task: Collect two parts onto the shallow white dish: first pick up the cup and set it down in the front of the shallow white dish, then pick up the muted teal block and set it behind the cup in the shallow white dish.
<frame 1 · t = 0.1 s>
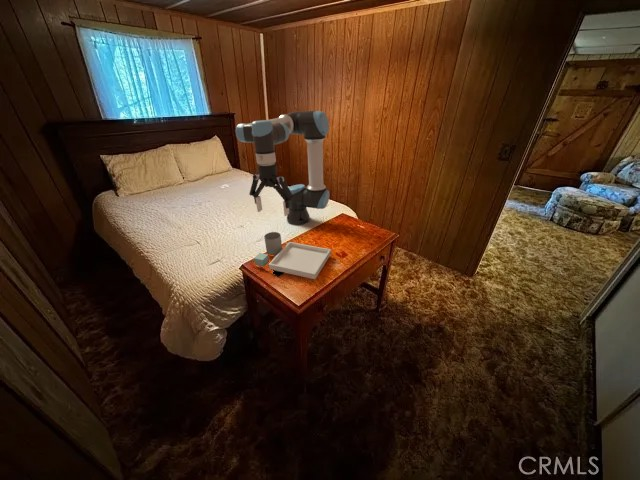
hand: (273, 212, 111), 28 cm above the table, fingers open, 13 cm apart
shallow white dish: (301, 263, 125), on the table
smartphone: (273, 268, 123), on the table
block: (262, 264, 126), on the table
cup: (274, 252, 135), on the table
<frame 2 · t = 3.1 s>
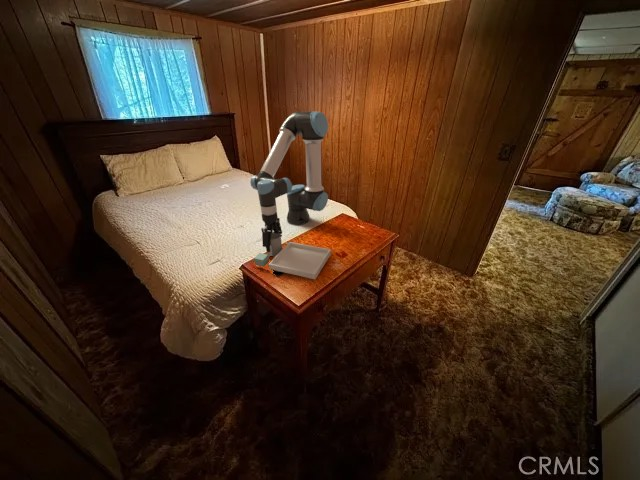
hand: (274, 251, 135), 0 cm above the table, fingers closed on cup, 8 cm apart
cup: (274, 252, 135), on the table, touching gripper
everything else where it was.
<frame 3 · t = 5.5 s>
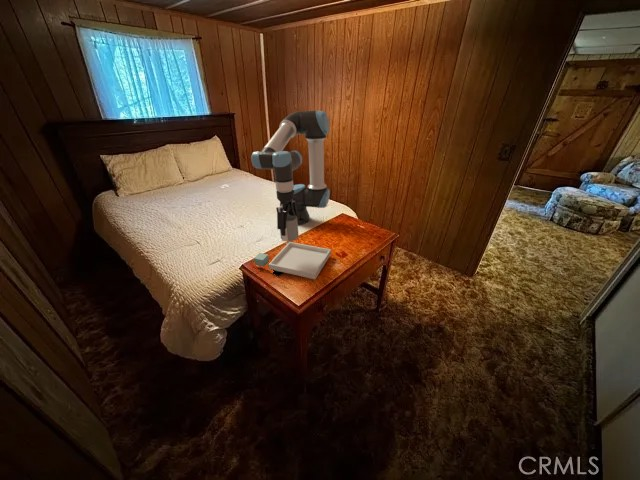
hand: (289, 236, 119), 15 cm above the table, fingers closed on cup, 8 cm apart
cup: (289, 237, 120), point 14 cm above the table, touching gripper
everything else where it was.
when the fingers open (3 cm above the table, at t = 8.4 s): cup stays where it is, resting on shallow white dish.
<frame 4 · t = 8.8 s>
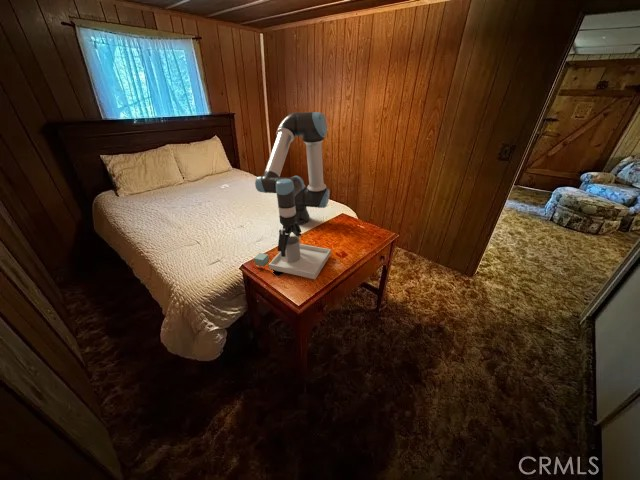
hand: (291, 254, 125), 5 cm above the table, fingers open, 13 cm apart
cup: (292, 258, 126), point 2 cm above the table, touching shallow white dish
everything else where it was.
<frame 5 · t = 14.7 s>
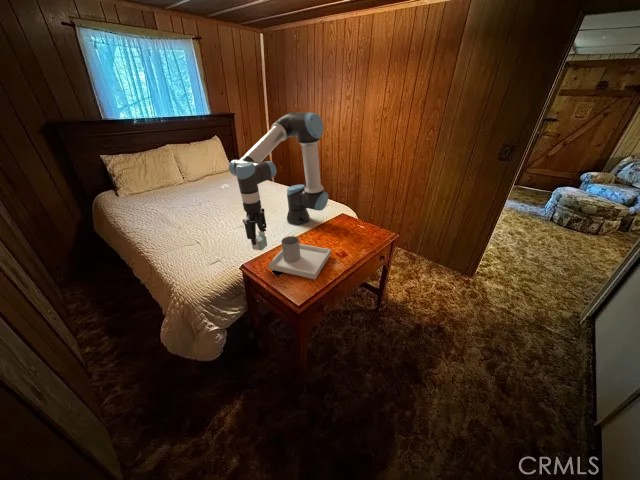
hand: (260, 246, 121), 10 cm above the table, fingers closed on block, 5 cm apart
block: (260, 247, 121), point 10 cm above the table, touching gripper
everything else where it was.
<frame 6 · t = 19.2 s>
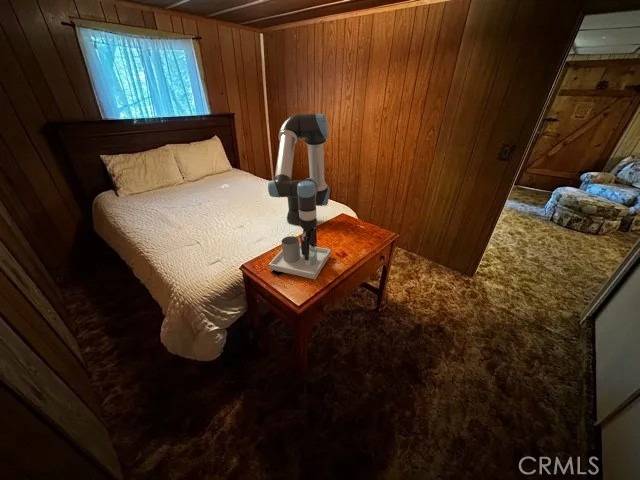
hand: (310, 261, 122), 3 cm above the table, fingers closed on block, 5 cm apart
block: (310, 261, 122), point 2 cm above the table, touching shallow white dish, gripper
everything else where it was.
when the fingers open (3 cm above the table, at t = 19.3 s): block stays where it is, resting on shallow white dish.
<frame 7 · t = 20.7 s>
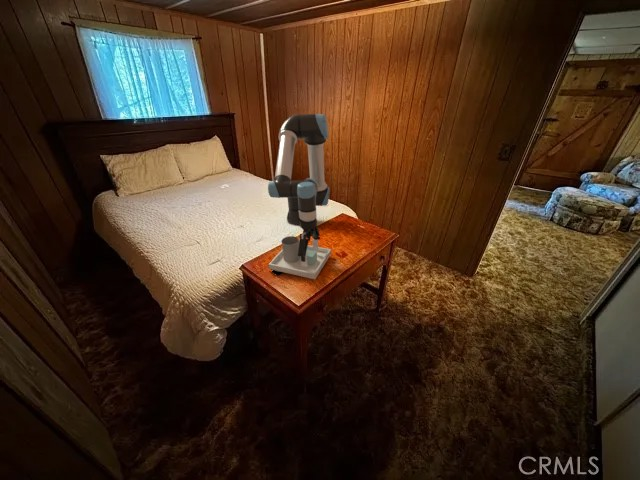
hand: (310, 258, 122), 4 cm above the table, fingers open, 13 cm apart
block: (310, 261, 122), point 2 cm above the table, touching shallow white dish
everything else where it was.
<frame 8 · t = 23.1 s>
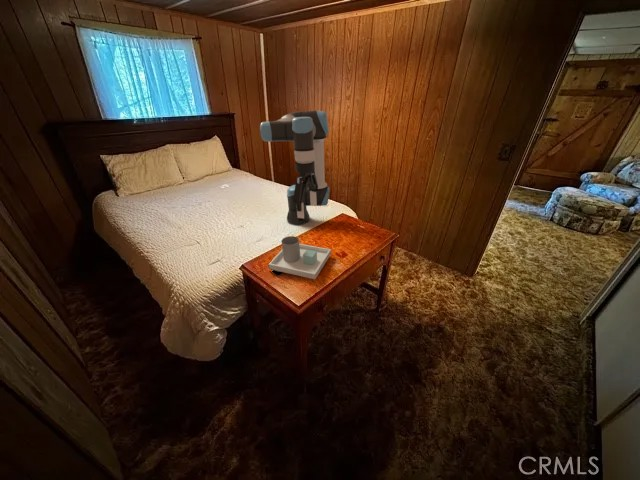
hand: (307, 211, 109), 29 cm above the table, fingers open, 13 cm apart
nothing on the table moved.
at the end: cup inside the target area on the shallow white dish (5.0 cm from its centre), point 2.1 cm above the shallow white dish's base; cup tilted 0°; block inside the target area on the shallow white dish (5.0 cm from its centre), point 2.3 cm above the shallow white dish's base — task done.
